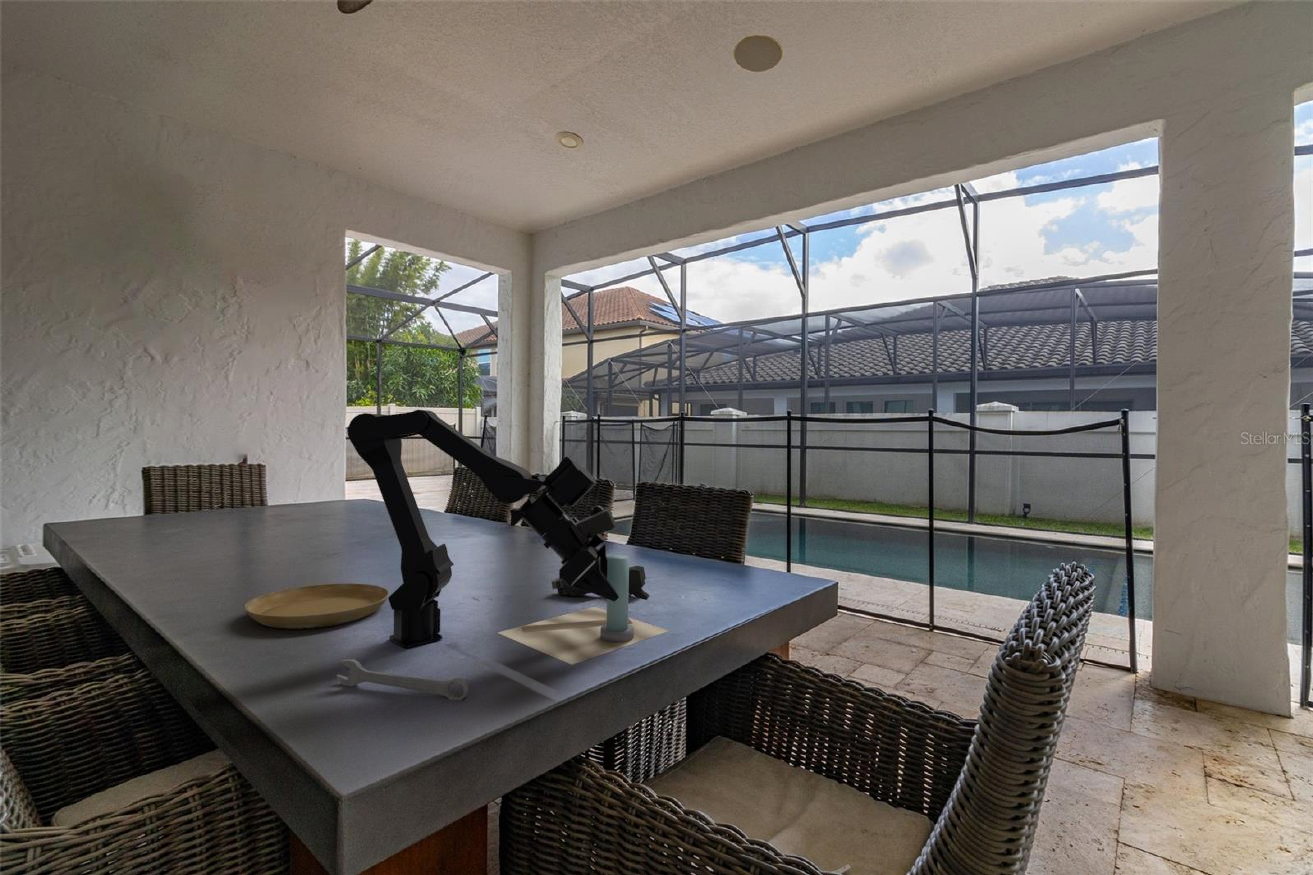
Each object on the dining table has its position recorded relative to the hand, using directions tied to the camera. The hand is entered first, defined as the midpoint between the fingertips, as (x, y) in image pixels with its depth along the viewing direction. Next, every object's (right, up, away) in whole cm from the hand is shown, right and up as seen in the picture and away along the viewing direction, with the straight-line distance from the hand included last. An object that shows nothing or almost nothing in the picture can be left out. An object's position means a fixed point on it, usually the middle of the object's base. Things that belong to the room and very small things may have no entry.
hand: (618, 591), depth 102 cm
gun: (-6, -9, +28) cm, 30 cm away
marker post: (0, -8, 0) cm, 8 cm away
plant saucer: (-58, -8, +14) cm, 60 cm away
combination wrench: (-29, -9, -20) cm, 36 cm away
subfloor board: (-6, -9, +3) cm, 11 cm away
